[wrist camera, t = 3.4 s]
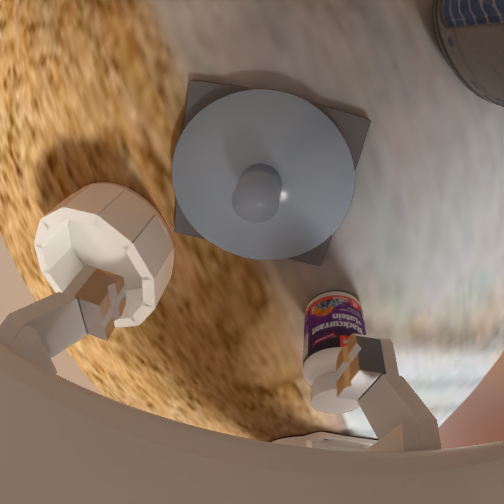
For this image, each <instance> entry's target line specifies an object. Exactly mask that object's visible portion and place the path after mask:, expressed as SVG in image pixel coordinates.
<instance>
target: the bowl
mask: <svg viewBox="0 0 504 504" xmlns="http://www.w3.org/2000/svg"><path fill="white" fill-rule="evenodd" d="M34 246H35V250H36V254H37V257H38V261H39V265H40V268H41V271H42V273H43V275H44V276H45V278H46V279H47V280H48V282H49V283H50V285H51V286H52V288H53V289H54V290H55V292H56V293H57V292H62V293H63V291H64V290H65V289H66V288H67V286H68V285H69V284H70V282H71V281H72V280H73V279H74V278H75V276H76V275H77V274H78V273H79V271H80V270H81V269H82V268H83V267H84V266H86V265H89V266H92V267H95V268H99V269H102V270H104V271H107V272H110V273H113V274H116V275H119V276H122V277H123V278H124V283H125V285H124V287H123V288H122V290H123V291H124V292H125V294H126V305H125V308H124V311H123V314H122V315H121V317H120V318H119V319H117V320H115V321H114V325H115V328H118V327H129V326H139V325H140V324H141V323H142V322H143V321H144V320H145V319H146V318H147V317H148V316H149V315H150V314H151V313H152V312H153V311H154V310H155V308H156V306H157V304H158V302H159V300H160V298H161V296H162V294H163V292H164V290H165V288H166V286H167V284H168V282H169V281H170V279H171V276H172V270H173V267H174V263H175V247H174V241H173V238H172V235H171V232H170V230H169V228H168V226H167V224H166V222H165V221H164V219H163V217H162V216H161V215H160V213H159V212H158V211H157V210H156V208H155V207H154V206H153V205H152V204H151V203H150V202H149V201H148V200H146V199H145V198H144V197H143V196H141V195H140V194H138V193H137V192H135V191H133V190H132V189H130V188H128V187H125V186H123V185H120V184H116V183H111V182H96V183H91V184H89V185H86V186H84V187H83V188H81V189H80V190H78V191H77V192H75V193H73V194H71V195H69V196H68V197H67V198H65V199H64V200H63V201H62V202H60V203H59V204H58V205H57V206H55V207H54V208H53V209H52V210H51V211H49V212H48V213H47V214H46V215H45V216H43V217H42V218H41V219H40V223H39V226H38V230H37V233H36V237H35V240H34Z"/></svg>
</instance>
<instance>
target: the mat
mask: <svg viewBox="0 0 504 504" xmlns="http://www.w3.org/2000/svg"><path fill="white" fill-rule="evenodd" d="M245 90H253V89H250V88H244V87H239V86H233V85H227V84H220V83H213V82H206V81H198V80H190V83H189V90H188V97H187V104H186V112H185V119H184V128H183V131H184V129H185V128H186V126H187V125H188V123H189V122H190V121H191V120H192V119H193V118H194V117H195V116H196V115H197V114H198V113H199V112H200V111H201V110H203V109H204V108H205V107H206V106H208V105H210V104H211V103H213V102H214V101H216V100H218V99H220V98H223V97H225V96H227V95H230V94H233V93H236V92H240V91H245ZM308 102H309V101H308ZM310 103H311V104H313V105H314V106H316V107H317V108H319V109H320V110H321V111H322V112H323V113H324V114H326V115H327V116H328V117H329V118H330V120H331V121H332V122H333V123H334V124H335V125H336V127H337V128H338V130H339V131H340V133H341V134H342V136H343V137H344V139H345V141H346V143H347V146H348V148H349V150H350V153H351V156H352V160H353V165H354V171H355V169H356V166H357V163H358V160H359V157H360V154H361V151H362V148H363V145H364V141H365V138H366V135H367V132H368V128H369V125H370V122H371V121H370V120H369V119H366V118H363V117H360V116H357V115H354V114H351V113H348V112H344V111H341V110H338V109H334V108H331V107H327V106H324V105H320V104H316V103H313V102H310ZM174 232H177V233H181V234H185V235H189V236H194V237H198V238H202V239H205V238H204V237H203V236H202V235H201V234H199V233H198V232H197V231H196V229H195V228H194V227H193V226H192V225H191V224H190V222H189V221H188V220H187V218H186V217H185V215H184V214H183V212H182V210H181V208H180V206H179V204H178V201H177V200H176V214H175V230H174ZM331 237H332V235H331V236H330V237H329V238H327V239H326V240H325V241H324V242H322V243H321V244H320V245H318V246H317V247H315V248H313V249H311V250H309V251H308V252H305V253H303V254H300V255H298V256H294V257H290V258H287V259H292V260H296V261H300V262H304V263H309V264H313V265H317V266H320V265H321V263H322V260H323V258H324V255H325V252H326V250H327V247H328V245H329V242H330V239H331Z"/></svg>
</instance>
